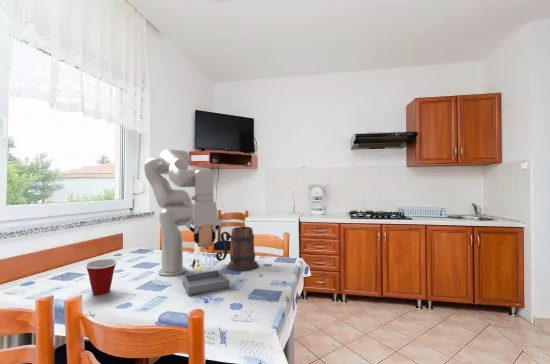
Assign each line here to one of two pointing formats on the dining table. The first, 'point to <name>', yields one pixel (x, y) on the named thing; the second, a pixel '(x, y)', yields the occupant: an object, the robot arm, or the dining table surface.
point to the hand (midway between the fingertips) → (204, 241)
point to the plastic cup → (101, 275)
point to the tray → (205, 282)
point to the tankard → (240, 250)
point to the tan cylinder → (205, 236)
